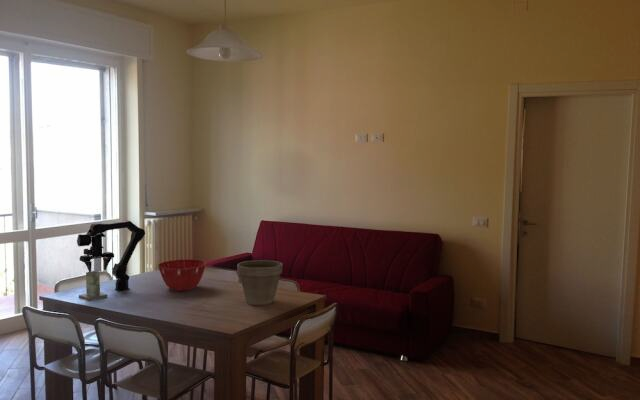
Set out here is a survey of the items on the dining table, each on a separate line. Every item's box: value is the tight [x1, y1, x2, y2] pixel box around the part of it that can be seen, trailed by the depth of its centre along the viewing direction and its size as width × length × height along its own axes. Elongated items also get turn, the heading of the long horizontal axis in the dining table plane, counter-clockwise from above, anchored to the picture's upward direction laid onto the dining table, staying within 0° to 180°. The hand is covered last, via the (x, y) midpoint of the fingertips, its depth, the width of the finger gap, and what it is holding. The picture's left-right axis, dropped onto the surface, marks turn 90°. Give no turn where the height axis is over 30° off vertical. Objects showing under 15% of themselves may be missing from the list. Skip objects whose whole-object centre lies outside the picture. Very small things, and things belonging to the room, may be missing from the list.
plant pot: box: [236, 259, 284, 306], centre depth 304 cm, size 25×25×22 cm
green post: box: [85, 270, 101, 296], centre depth 312 cm, size 5×5×13 cm
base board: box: [78, 291, 108, 302], centre depth 313 cm, size 11×11×2 cm
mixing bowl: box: [157, 258, 207, 292], centre depth 335 cm, size 28×28×16 cm
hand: (97, 271), depth 322 cm, fingers open, 9 cm apart
